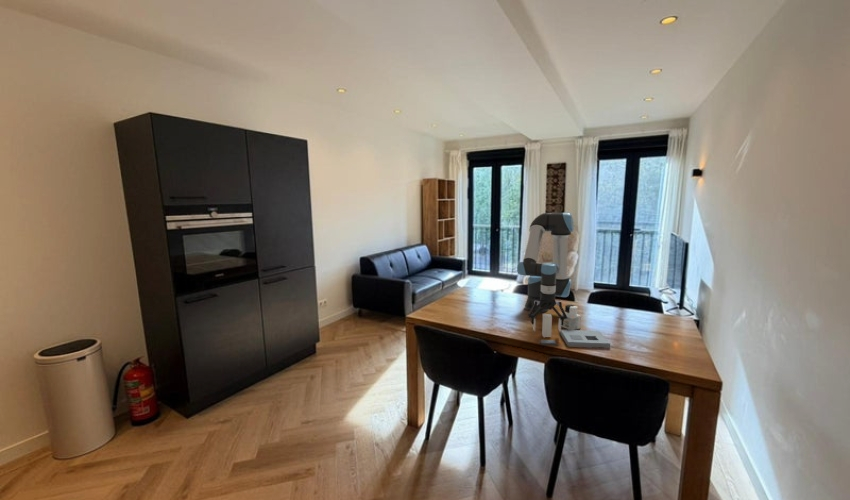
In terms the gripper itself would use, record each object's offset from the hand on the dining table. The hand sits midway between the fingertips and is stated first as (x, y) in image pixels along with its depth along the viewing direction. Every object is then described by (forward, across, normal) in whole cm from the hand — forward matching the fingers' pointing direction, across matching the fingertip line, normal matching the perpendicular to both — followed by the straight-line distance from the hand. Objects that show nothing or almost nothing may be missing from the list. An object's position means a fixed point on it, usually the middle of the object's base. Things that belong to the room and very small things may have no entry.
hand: (546, 330), depth 187 cm
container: (+4, +16, +14) cm, 22 cm away
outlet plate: (+3, +18, -4) cm, 19 cm away
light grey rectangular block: (+3, 0, 0) cm, 3 cm away
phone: (+3, -1, -9) cm, 10 cm away
